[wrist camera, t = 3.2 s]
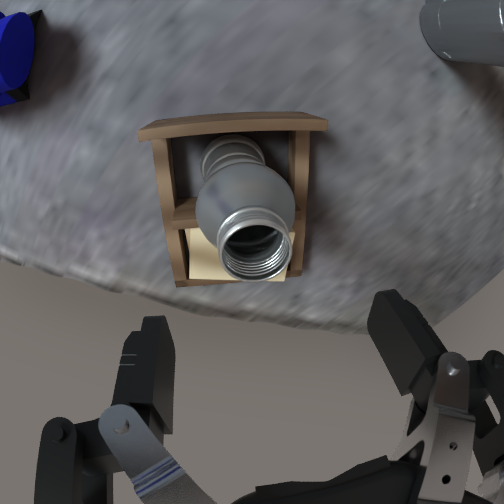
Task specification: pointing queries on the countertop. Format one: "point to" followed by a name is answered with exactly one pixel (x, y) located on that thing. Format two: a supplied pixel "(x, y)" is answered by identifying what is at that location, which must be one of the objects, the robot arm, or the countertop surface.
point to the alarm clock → (16, 55)
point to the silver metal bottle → (245, 209)
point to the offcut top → (213, 259)
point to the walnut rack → (183, 210)
